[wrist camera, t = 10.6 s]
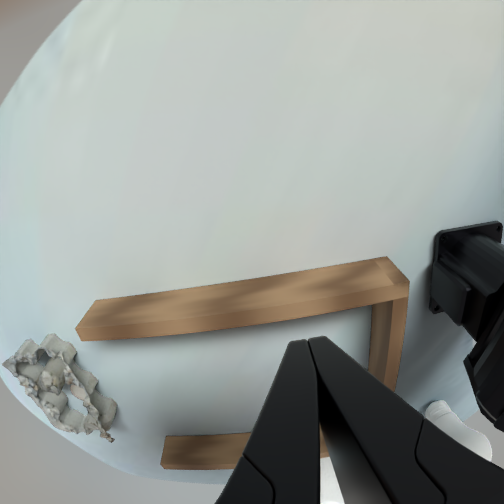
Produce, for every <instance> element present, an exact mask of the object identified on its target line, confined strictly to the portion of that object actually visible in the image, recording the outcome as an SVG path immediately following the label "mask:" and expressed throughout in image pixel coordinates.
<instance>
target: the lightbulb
mask: <svg viewBox="0 0 504 504" xmlns="http://www.w3.org/2000/svg"><path fill="white" fill-rule="evenodd" d="M425 416H426V418H427V419H428V420H429V421H430V422H432V423H433V424H434V425H436V426H437V427H438V428H439V429H441V430H442V431H443V432H445V433H446V434H447V435H449V436H450V437H452V438H453V439H454V440H456V441H457V442H459V443H460V444H462V445H463V446H465V447H466V448H468V449H470V450H471V451H473V452H474V453H476V454H478V455H479V456H481V457H483V458H485V459H486V460H488V461H490V462H491V459H492V448H491V444H490V442H489V440H488V438H487V437H485V435H484V434H482V433H480V432H478V431H476V430H474V429H472V428H470V427H468V426H466V425H465V424H464V423H463V422H462V421H461V420H460V419H459V418H458V416H457V415H456V414H455V413H454V412H452V411H451V409H450V408H449V406H448V405H447V403H446V402H445V401H443V400H439V401H434V402H432V403H431V404H430V405H429V407H428V408H427V409H426V412H425Z"/></svg>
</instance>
